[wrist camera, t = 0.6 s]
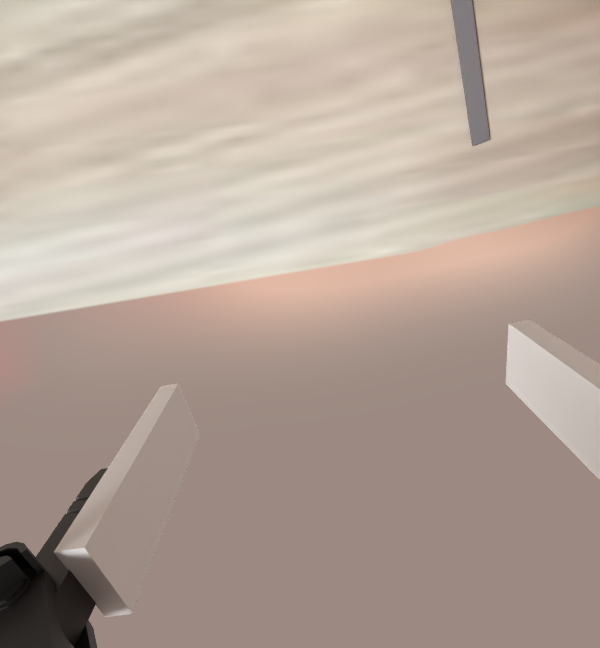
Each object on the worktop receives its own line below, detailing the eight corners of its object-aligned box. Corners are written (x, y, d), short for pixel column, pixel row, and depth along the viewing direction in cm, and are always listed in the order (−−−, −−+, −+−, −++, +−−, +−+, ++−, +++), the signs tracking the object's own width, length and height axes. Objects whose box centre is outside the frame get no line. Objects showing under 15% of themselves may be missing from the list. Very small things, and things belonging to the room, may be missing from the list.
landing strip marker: (438, -86, 28) (439, -89, 27) (457, -96, 28) (459, -98, 27) (472, 145, 35) (473, 145, 34) (488, 139, 34) (489, 139, 34)
